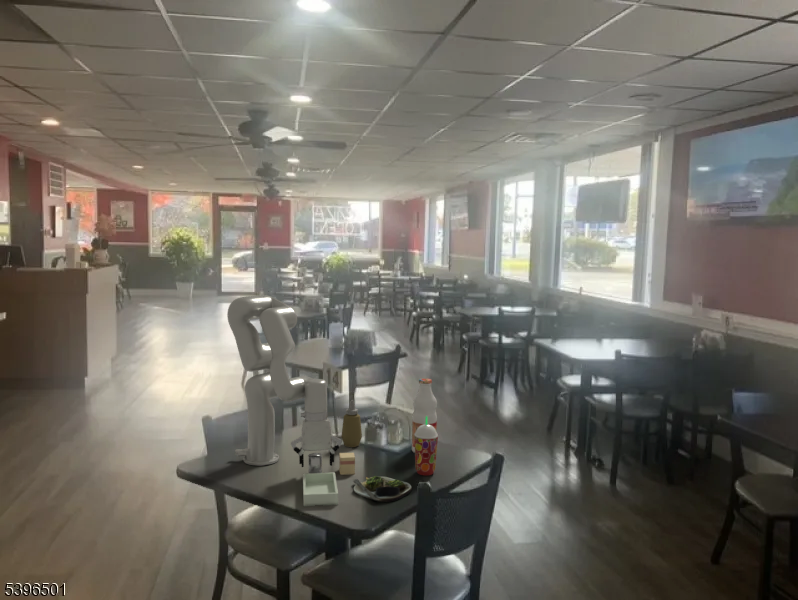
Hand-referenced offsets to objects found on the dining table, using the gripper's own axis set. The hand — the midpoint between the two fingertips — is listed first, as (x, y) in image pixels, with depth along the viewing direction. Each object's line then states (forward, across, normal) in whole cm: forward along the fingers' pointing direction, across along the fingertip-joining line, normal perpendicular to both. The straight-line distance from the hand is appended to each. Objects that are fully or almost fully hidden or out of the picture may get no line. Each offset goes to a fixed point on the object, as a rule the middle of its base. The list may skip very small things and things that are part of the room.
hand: (316, 465), depth 220 cm
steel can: (+4, -1, 0) cm, 4 cm away
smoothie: (+5, +37, -2) cm, 38 cm away
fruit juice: (+4, +41, +22) cm, 47 cm away
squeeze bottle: (+4, +14, +32) cm, 35 cm away
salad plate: (+5, +20, -17) cm, 27 cm away
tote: (+4, 0, -16) cm, 17 cm away
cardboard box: (+4, +10, +2) cm, 11 cm away
